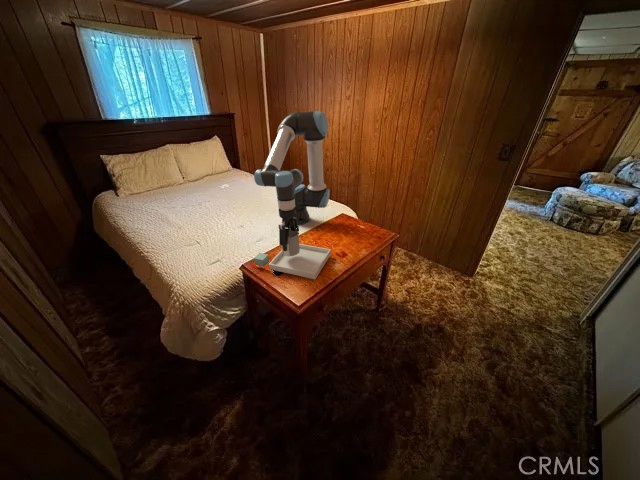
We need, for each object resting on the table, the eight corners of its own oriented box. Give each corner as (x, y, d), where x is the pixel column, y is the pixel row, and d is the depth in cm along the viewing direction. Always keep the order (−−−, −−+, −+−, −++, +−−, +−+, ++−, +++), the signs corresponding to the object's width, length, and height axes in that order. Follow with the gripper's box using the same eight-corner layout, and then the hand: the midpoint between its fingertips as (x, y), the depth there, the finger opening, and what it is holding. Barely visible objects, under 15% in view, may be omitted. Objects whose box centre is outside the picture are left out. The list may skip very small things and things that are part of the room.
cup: (296, 256, 119) (295, 238, 114) (280, 255, 121) (277, 237, 116) (301, 247, 126) (300, 229, 122) (285, 246, 128) (283, 228, 123)
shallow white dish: (290, 248, 138) (289, 241, 136) (331, 256, 130) (331, 249, 128) (269, 271, 120) (268, 264, 118) (315, 282, 113) (314, 274, 111)
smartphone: (258, 266, 125) (278, 277, 117) (257, 264, 125) (278, 276, 116) (269, 259, 130) (289, 270, 121) (269, 258, 130) (289, 268, 121)
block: (260, 261, 128) (259, 252, 126) (269, 262, 127) (268, 254, 124) (255, 266, 124) (253, 258, 122) (264, 268, 123) (262, 260, 120)
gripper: (290, 198, 122) (293, 239, 133) (266, 215, 105) (273, 261, 116) (304, 200, 120) (306, 241, 131) (282, 218, 103) (287, 264, 114)
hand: (291, 250), depth 124 cm, fingers closed on cup, 8 cm apart
